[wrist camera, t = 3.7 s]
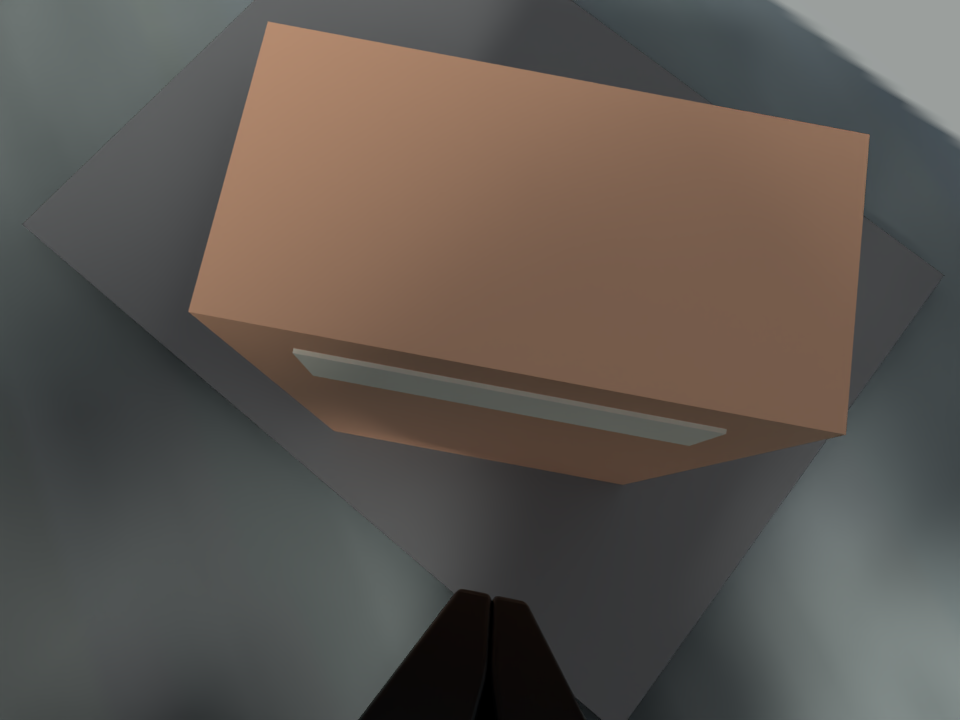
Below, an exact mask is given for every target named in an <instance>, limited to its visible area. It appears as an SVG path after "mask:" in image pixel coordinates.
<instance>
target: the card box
mask: <svg viewBox="0 0 960 720" xmlns="http://www.w3.org/2000/svg"><path fill="white" fill-rule="evenodd" d="M869 137H870V134H864V133H859V132H854V131H849V130H843V129H838V128H833V127H827V126H822V125H817V124H811V123H806V122H801V121H795V120H790V119H785V118H779V117H774V116H769V115H763V114H758V113H753V112H747V111H742V110H737V109H731V108H726V107H721V106H715V105H710V104H705V103H699V102H694V101H689V100H683V99H678V98H673V97H667V96H662V95H657V94H651V93H646V92H641V91H635V90H630V89H625V88H619V87H614V86H609V85H604V84H598V83H593V82H588V81H582V80H577V79H572V78H566V77H561V76H556V75H550V74H545V73H540V72H534V71H529V70H524V69H518V68H513V67H508V66H502V65H497V64H492V63H486V62H481V61H476V60H470V59H465V58H460V57H454V56H449V55H444V54H438V53H433V52H428V51H422V50H417V49H412V48H406V47H401V46H396V45H390V44H385V43H380V42H374V41H369V40H364V39H359V38H353V37H348V36H343V35H337V34H332V33H327V32H321V31H316V30H311V29H305V28H300V27H295V26H289V25H284V24H279V23H273V22H268V23H267V27H266V30H265V34H264V38H263V41H262V45H261V48H260V52H259V56H258V59H257V63H256V67H255V70H254V74H253V78H252V81H251V85H250V89H249V92H248V96H247V99H246V103H245V107H244V110H243V114H242V118H241V121H240V125H239V129H238V132H237V136H236V140H235V143H234V147H233V150H232V154H231V158H230V161H229V165H228V169H227V172H226V176H225V180H224V183H223V187H222V191H221V194H220V198H219V201H218V205H217V209H216V212H215V216H214V220H213V223H212V227H211V231H210V234H209V238H208V242H207V245H206V249H205V252H204V256H203V260H202V263H201V267H200V271H199V274H198V278H197V282H196V285H195V289H194V293H193V296H192V300H191V303H190V307H189V311H188V312H189V313H190V314H192V315H193V316H194V317H195V318H197V319H198V320H199V321H200V322H201V323H203V324H204V325H205V326H206V327H208V328H209V329H210V330H211V331H212V332H214V333H215V334H216V335H217V336H218V337H220V338H221V339H222V340H223V341H225V342H226V343H227V344H228V345H229V346H231V347H232V348H233V349H234V350H236V351H237V352H238V353H239V354H240V355H242V356H243V357H244V358H245V359H247V360H248V361H249V362H250V363H251V364H253V365H254V366H255V367H256V368H258V369H259V370H260V371H261V372H262V373H264V374H265V375H266V376H267V377H269V378H270V379H271V380H272V381H273V382H275V383H276V384H277V385H278V386H280V387H281V388H282V389H283V390H284V391H286V392H287V393H288V394H289V395H291V396H292V397H293V398H294V399H295V400H297V401H298V402H299V403H300V404H302V405H303V406H304V407H305V408H306V409H308V410H309V411H310V412H311V413H313V414H314V415H315V416H316V417H317V418H319V419H320V420H321V421H322V422H323V423H325V424H326V425H327V426H328V427H330V428H331V429H332V430H333V431H337V432H342V433H348V434H353V435H358V436H364V437H369V438H374V439H380V440H385V441H390V442H396V443H401V444H406V445H412V446H417V447H422V448H428V449H433V450H439V451H444V452H449V453H455V454H460V455H465V456H471V457H476V458H481V459H487V460H492V461H497V462H503V463H508V464H514V465H519V466H524V467H530V468H535V469H540V470H546V471H551V472H556V473H562V474H567V475H572V476H578V477H583V478H588V479H594V480H599V481H605V482H610V483H615V484H621V485H625V484H629V483H633V482H638V481H642V480H647V479H651V478H656V477H660V476H664V475H669V474H673V473H678V472H682V471H687V470H691V469H696V468H700V467H704V466H709V465H713V464H718V463H722V462H727V461H731V460H736V459H740V458H744V457H749V456H753V455H758V454H762V453H767V452H771V451H776V450H780V449H784V448H789V447H793V446H798V445H802V444H807V443H811V442H816V441H820V440H824V439H829V438H833V437H838V436H842V435H846V427H847V414H848V402H849V389H850V376H851V364H852V351H853V339H854V326H855V313H856V301H857V288H858V276H859V263H860V250H861V238H862V225H863V213H864V200H865V187H866V175H867V162H868V150H869Z"/></svg>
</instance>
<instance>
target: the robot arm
mask: <svg viewBox="0 0 960 720" xmlns="http://www.w3.org/2000/svg"><path fill="white" fill-rule="evenodd" d="M358 720H586V718H585V716H584V714H583V712H582V710H581V708H580V706H579V704H578V702H577V700H576V698H575V696H574V694H573V692H572V690H571V688H570V686H569V684H568V683H567V681H566V679H565V677H564V675H563V673H562V671H561V669H560V667H559V665H558V663H557V661H556V659H555V657H554V655H553V653H552V651H551V649H550V647H549V645H548V643H547V641H546V639H545V637H544V635H543V633H542V631H541V629H540V627H539V625H538V624H537V622H536V620H535V618H534V616H533V614H532V612H531V610H530V608H529V606H528V605H527V603H526V602H524V601H521V600H516V599H511V598H506V597H502V596H496V597H494V598H493V599H492V600H491V597H490V595H489V594H486V593H482V592H477V591H472V590H467V589H459V590H457V591H456V592H455V593H454V595H453V596H452V597H451V599H450V600H449V601H448V603H447V604H446V605H445V607H444V608H443V609H442V611H441V612H440V613H439V614H438V616H437V617H436V618H435V620H434V621H433V622H432V624H431V625H430V626H429V628H428V629H427V630H426V631H425V633H424V634H423V635H422V637H421V638H420V639H419V641H418V642H417V643H416V645H415V646H414V647H413V649H412V650H411V651H410V652H409V654H408V655H407V656H406V658H405V659H404V660H403V662H402V663H401V664H400V666H399V667H398V668H397V670H396V671H395V672H394V673H393V675H392V676H391V677H390V679H389V680H388V681H387V683H386V684H385V685H384V687H383V688H382V689H381V691H380V692H379V693H378V694H377V696H376V697H375V698H374V700H373V701H372V702H371V704H370V705H369V706H368V708H367V709H366V710H365V712H364V713H363V714H362V715H361V717H360V718H359V719H358Z"/></svg>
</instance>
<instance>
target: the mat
mask: <svg viewBox="0 0 960 720" xmlns="http://www.w3.org/2000/svg"><path fill="white" fill-rule="evenodd" d="M268 22H273V23H279V24H284V25H289V26H295V27H300V28H305V29H311V30H316V31H321V32H327V33H332V34H337V35H343V36H348V37H353V38H359V39H364V40H369V41H374V42H380V43H385V44H390V45H396V46H401V47H406V48H412V49H417V50H422V51H428V52H433V53H438V54H444V55H449V56H454V57H460V58H465V59H470V60H476V61H481V62H486V63H492V64H497V65H502V66H508V67H513V68H518V69H524V70H529V71H534V72H540V73H545V74H550V75H556V76H561V77H566V78H572V79H577V80H582V81H588V82H593V83H598V84H604V85H609V86H614V87H619V88H625V89H630V90H635V91H641V92H646V93H651V94H657V95H662V96H667V97H673V98H678V99H683V100H689V101H694V102H699V103H705V104H710V105H713V104H711V103H710V102H709V101H707V100H706V99H705V98H703V97H702V96H701V95H699V94H698V93H697V92H695V91H694V90H692V89H691V88H690V87H688V86H687V85H686V84H684V83H683V82H682V81H680V80H679V79H678V78H676V77H675V76H673V75H672V74H671V73H669V72H668V71H667V70H665V69H664V68H663V67H661V66H660V65H659V64H657V63H656V62H654V61H653V60H652V59H650V58H649V57H648V56H646V55H645V54H644V53H642V52H641V51H640V50H638V49H637V48H635V47H634V46H633V45H631V44H630V43H629V42H627V41H626V40H625V39H623V38H622V37H621V36H619V35H618V34H617V33H615V32H614V31H612V30H611V29H610V28H608V27H607V26H606V25H604V24H603V23H602V22H600V21H599V20H598V19H596V18H595V17H593V16H592V15H591V14H589V13H588V12H587V11H585V10H584V9H583V8H581V7H580V6H579V5H577V4H576V3H574V2H573V1H572V0H254V1H253V2H252V3H251V4H250V5H249V6H248V7H247V8H246V9H245V10H244V11H243V12H242V13H241V14H240V15H239V16H237V17H236V18H235V19H234V20H233V21H232V22H231V23H230V24H229V25H228V26H227V27H226V28H225V29H224V30H223V31H222V32H221V33H220V34H219V35H218V36H217V37H216V38H215V39H214V40H213V41H212V42H210V43H209V44H208V45H207V46H206V47H205V48H204V49H203V50H202V51H201V52H200V53H199V54H198V55H197V56H196V57H195V58H194V59H193V60H192V61H191V62H190V63H189V64H188V65H187V66H186V67H185V68H184V69H182V70H181V71H180V72H179V73H178V74H177V75H176V76H175V77H174V78H173V79H172V80H171V81H170V82H169V83H168V84H167V85H166V86H165V87H164V88H163V89H162V90H161V91H160V92H159V93H158V94H157V95H156V96H154V97H153V98H152V99H151V100H150V101H149V102H148V103H147V104H146V105H145V106H144V107H143V108H142V109H141V110H140V111H139V112H138V113H137V114H136V115H135V116H134V117H133V118H132V119H131V120H130V121H129V122H127V123H126V124H125V125H124V126H123V127H122V128H121V129H120V130H119V131H118V132H117V133H116V134H115V135H114V136H113V137H112V138H111V139H110V140H109V141H108V142H107V143H106V144H105V145H104V146H103V147H102V148H101V149H99V150H98V151H97V152H96V153H95V154H94V155H93V156H92V157H91V158H90V159H89V160H88V161H87V162H86V163H85V164H84V165H83V166H82V167H81V168H80V169H79V170H78V171H77V172H76V173H75V174H74V175H73V176H71V177H70V178H69V179H68V180H67V181H66V182H65V183H64V184H63V185H62V186H61V187H60V188H59V189H58V190H57V191H56V192H55V193H54V194H53V195H52V196H51V197H50V198H49V199H48V200H47V201H46V202H45V203H43V204H42V205H41V206H40V207H39V208H38V209H37V210H36V211H35V212H34V213H33V214H32V215H31V216H30V217H29V218H28V219H27V220H26V221H25V222H24V223H23V224H22V225H23V226H24V227H26V228H27V229H28V230H29V231H30V232H31V233H33V234H34V235H35V236H36V237H37V238H38V239H40V240H41V241H42V242H43V243H44V244H45V245H47V246H48V247H49V248H50V249H51V250H52V251H54V252H55V253H56V254H57V255H58V256H59V257H61V258H62V259H63V260H64V261H65V262H67V263H68V264H69V265H70V266H71V267H72V268H74V269H75V270H76V271H77V272H78V273H79V274H81V275H82V276H83V277H84V278H85V279H86V280H88V281H89V282H90V283H91V284H92V285H93V286H95V287H96V288H97V289H98V290H99V291H100V292H102V293H103V294H104V295H105V296H106V297H107V298H109V299H110V300H111V301H112V302H113V303H115V304H116V305H117V306H118V307H119V308H120V309H122V310H123V311H124V312H125V313H126V314H127V315H129V316H130V317H131V318H132V319H133V320H134V321H136V322H137V323H138V324H139V325H140V326H141V327H143V328H144V329H145V330H146V331H147V332H148V333H150V334H151V335H152V336H153V337H154V338H155V339H157V340H158V341H159V342H160V343H161V344H163V345H164V346H165V347H166V348H167V349H168V350H170V351H171V352H172V353H173V354H174V355H175V356H177V357H178V358H179V359H180V360H181V361H182V362H184V363H185V364H186V365H187V366H188V367H189V368H191V369H192V370H193V371H194V372H195V373H196V374H198V375H199V376H200V377H201V378H202V379H203V380H205V381H206V382H207V383H208V384H209V385H210V386H212V387H213V388H214V389H215V390H216V391H218V392H219V393H220V394H221V395H222V396H223V397H225V398H226V399H227V400H228V401H229V402H230V403H232V404H233V405H234V406H235V407H236V408H237V409H239V410H240V411H241V412H242V413H243V414H244V415H246V416H247V417H248V418H249V419H250V420H251V421H253V422H254V423H255V424H256V425H257V426H258V427H260V428H261V429H262V430H263V431H264V432H266V433H267V434H268V435H269V436H270V437H271V438H273V439H274V440H275V441H276V442H277V443H278V444H280V445H281V446H282V447H283V448H284V449H285V450H287V451H288V452H289V453H290V454H291V455H292V456H294V457H295V458H296V459H297V460H298V461H299V462H301V463H302V464H303V465H304V466H305V467H306V468H308V469H309V470H310V471H311V472H312V473H314V474H315V475H316V476H317V477H318V478H319V479H321V480H322V481H323V482H324V483H325V484H326V485H328V486H329V487H330V488H331V489H332V490H333V491H335V492H336V493H337V494H338V495H339V496H340V497H342V498H343V499H344V500H345V501H346V502H347V503H349V504H350V505H351V506H352V507H353V508H354V509H356V510H357V511H358V512H359V513H360V514H362V515H363V516H364V517H365V518H366V519H367V520H369V521H370V522H371V523H372V524H373V525H374V526H376V527H377V528H378V529H379V530H380V531H381V532H383V533H384V534H385V535H386V536H387V537H388V538H390V539H391V540H392V541H393V542H394V543H395V544H397V545H398V546H399V547H400V548H401V549H402V550H404V551H405V552H406V553H407V554H408V555H410V556H411V557H412V558H413V559H414V560H415V561H417V562H418V563H419V564H420V565H421V566H422V567H424V568H425V569H426V570H427V571H428V572H429V573H431V574H432V575H433V576H434V577H435V578H436V579H438V580H439V581H440V582H441V583H442V584H443V585H445V586H446V587H447V588H448V589H449V590H450V591H452V592H453V593H455V592H456V591H457V590H459V589H467V590H472V591H477V592H482V593H486V594H489V595H490V597H491V600H492V599H493V598H494V597H496V596H502V597H506V598H511V599H516V600H521V601H524V602H526V603H527V605H528V606H529V608H530V610H531V612H532V614H533V616H534V618H535V620H536V622H537V624H538V625H539V627H540V629H541V631H542V633H543V635H544V637H545V639H546V641H547V643H548V645H549V647H550V649H551V651H552V653H553V655H554V657H555V659H556V661H557V663H558V665H559V667H560V669H561V671H562V673H563V675H564V677H565V679H566V681H567V683H568V684H569V686H570V688H571V690H572V692H573V694H574V696H575V697H576V698H577V699H578V700H579V701H580V702H582V703H583V704H584V705H585V706H586V707H587V708H589V709H590V710H591V711H592V712H593V713H594V714H596V715H597V716H598V717H599V718H600V719H601V720H628V718H629V717H630V716H631V714H632V713H633V711H634V710H635V709H636V707H637V706H638V704H639V703H640V702H641V700H642V699H643V697H644V696H645V695H646V693H647V692H648V690H649V689H650V687H651V686H652V685H653V683H654V682H655V680H656V679H657V678H658V676H659V675H660V673H661V672H662V671H663V669H664V668H665V666H666V665H667V664H668V662H669V661H670V659H671V658H672V657H673V655H674V654H675V652H676V651H677V650H678V648H679V647H680V645H681V644H682V643H683V641H684V640H685V638H686V637H687V636H688V634H689V633H690V631H691V630H692V629H693V627H694V626H695V624H696V623H697V622H698V620H699V619H700V617H701V616H702V614H703V613H704V612H705V610H706V609H707V607H708V606H709V605H710V603H711V602H712V600H713V599H714V598H715V596H716V595H717V593H718V592H719V591H720V589H721V588H722V586H723V585H724V584H725V582H726V581H727V579H728V578H729V577H730V575H731V574H732V572H733V571H734V570H735V568H736V567H737V565H738V564H739V563H740V561H741V560H742V558H743V557H744V556H745V554H746V553H747V551H748V550H749V549H750V547H751V546H752V544H753V543H754V541H755V540H756V539H757V537H758V536H759V534H760V533H761V532H762V530H763V529H764V527H765V526H766V525H767V523H768V522H769V520H770V519H771V518H772V516H773V515H774V513H775V512H776V511H777V509H778V508H779V506H780V505H781V504H782V502H783V501H784V499H785V498H786V497H787V495H788V494H789V492H790V491H791V490H792V488H793V487H794V485H795V484H796V483H797V481H798V480H799V478H800V477H801V476H802V474H803V473H804V471H805V470H806V468H807V467H808V466H809V464H810V463H811V461H812V460H813V459H814V457H815V456H816V454H817V453H818V452H819V450H820V449H821V447H822V446H823V445H824V443H825V442H826V440H827V439H824V440H820V441H816V442H811V443H807V444H802V445H798V446H793V447H789V448H784V449H780V450H776V451H771V452H767V453H762V454H758V455H753V456H749V457H744V458H740V459H736V460H731V461H727V462H722V463H718V464H713V465H709V466H704V467H700V468H696V469H691V470H687V471H682V472H678V473H673V474H669V475H664V476H660V477H656V478H651V479H647V480H642V481H638V482H633V483H629V484H625V485H621V484H615V483H610V482H605V481H599V480H594V479H588V478H583V477H578V476H572V475H567V474H562V473H556V472H551V471H546V470H540V469H535V468H530V467H524V466H519V465H514V464H508V463H503V462H497V461H492V460H487V459H481V458H476V457H471V456H465V455H460V454H455V453H449V452H444V451H439V450H433V449H428V448H422V447H417V446H412V445H406V444H401V443H396V442H390V441H385V440H380V439H374V438H369V437H364V436H358V435H353V434H348V433H342V432H337V431H333V430H332V429H331V428H330V427H328V426H327V425H326V424H325V423H323V422H322V421H321V420H320V419H319V418H317V417H316V416H315V415H314V414H313V413H311V412H310V411H309V410H308V409H306V408H305V407H304V406H303V405H302V404H300V403H299V402H298V401H297V400H295V399H294V398H293V397H292V396H291V395H289V394H288V393H287V392H286V391H284V390H283V389H282V388H281V387H280V386H278V385H277V384H276V383H275V382H273V381H272V380H271V379H270V378H269V377H267V376H266V375H265V374H264V373H262V372H261V371H260V370H259V369H258V368H256V367H255V366H254V365H253V364H251V363H250V362H249V361H248V360H247V359H245V358H244V357H243V356H242V355H240V354H239V353H238V352H237V351H236V350H234V349H233V348H232V347H231V346H229V345H228V344H227V343H226V342H225V341H223V340H222V339H221V338H220V337H218V336H217V335H216V334H215V333H214V332H212V331H211V330H210V329H209V328H208V327H206V326H205V325H204V324H203V323H201V322H200V321H199V320H198V319H197V318H195V317H194V316H193V315H192V314H190V313H189V312H188V311H189V307H190V303H191V300H192V296H193V293H194V289H195V285H196V282H197V278H198V274H199V271H200V267H201V263H202V260H203V256H204V252H205V249H206V245H207V242H208V238H209V234H210V231H211V227H212V223H213V220H214V216H215V212H216V209H217V205H218V201H219V198H220V194H221V191H222V187H223V183H224V180H225V176H226V172H227V169H228V165H229V161H230V158H231V154H232V150H233V147H234V143H235V140H236V136H237V132H238V129H239V125H240V121H241V118H242V114H243V110H244V107H245V103H246V99H247V96H248V92H249V89H250V85H251V81H252V78H253V74H254V70H255V67H256V63H257V59H258V56H259V52H260V48H261V45H262V41H263V38H264V34H265V30H266V27H267V23H268ZM943 276H944V275H943V274H942V273H941V272H939V271H938V270H936V269H935V268H934V267H932V266H931V265H930V264H928V263H927V262H926V261H924V260H923V259H922V258H920V257H919V256H918V255H916V254H915V253H913V252H912V251H911V250H909V249H908V248H907V247H905V246H904V245H903V244H901V243H900V242H899V241H897V240H896V239H894V238H893V237H892V236H890V235H889V234H888V233H886V232H885V231H884V230H882V229H881V228H880V227H878V226H877V225H875V224H874V223H873V222H871V221H870V220H869V219H867V218H866V217H865V216H863V225H862V238H861V250H860V263H859V276H858V288H857V301H856V313H855V326H854V339H853V351H852V364H851V376H850V389H849V402H848V410H849V408H850V407H851V405H852V404H853V403H854V401H855V400H856V398H857V397H858V395H859V394H860V393H861V391H862V390H863V388H864V387H865V386H866V384H867V383H868V381H869V380H870V379H871V377H872V376H873V374H874V373H875V372H876V370H877V369H878V367H879V366H880V365H881V363H882V362H883V360H884V359H885V358H886V356H887V355H888V353H889V352H890V351H891V349H892V348H893V346H894V345H895V344H896V342H897V341H898V339H899V338H900V337H901V335H902V334H903V332H904V331H905V330H906V328H907V327H908V325H909V324H910V322H911V321H912V320H913V318H914V317H915V315H916V314H917V313H918V311H919V310H920V308H921V307H922V306H923V304H924V303H925V301H926V300H927V299H928V297H929V296H930V294H931V293H932V292H933V290H934V289H935V287H936V286H937V285H938V283H939V282H940V280H941V279H942V278H943Z"/></svg>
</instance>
